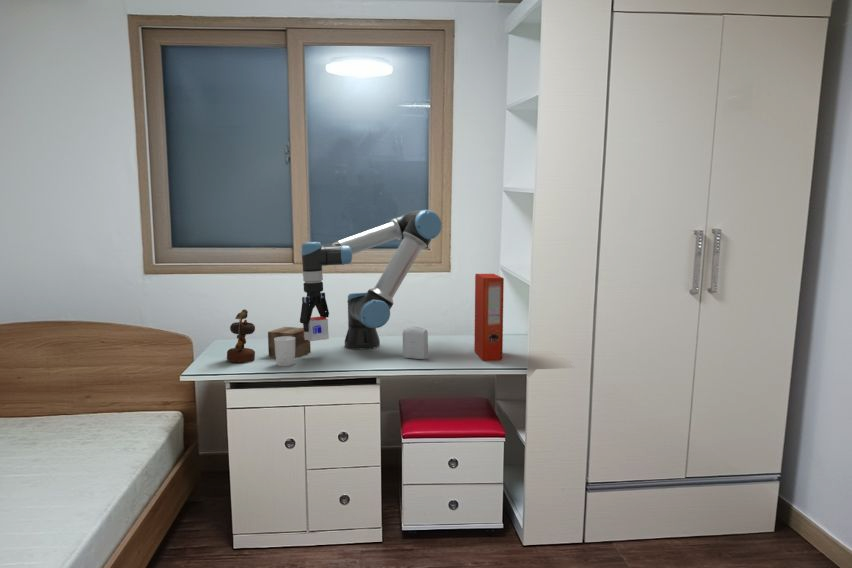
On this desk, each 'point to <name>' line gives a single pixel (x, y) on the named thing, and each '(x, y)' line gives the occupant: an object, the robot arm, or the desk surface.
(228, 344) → the desk surface
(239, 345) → the brown tall carved piece
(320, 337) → the red white patterned cube
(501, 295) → the file binder
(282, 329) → the walnut pedestal
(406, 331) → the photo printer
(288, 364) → the white cup
